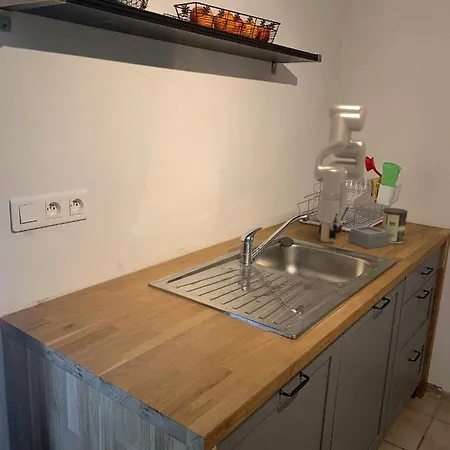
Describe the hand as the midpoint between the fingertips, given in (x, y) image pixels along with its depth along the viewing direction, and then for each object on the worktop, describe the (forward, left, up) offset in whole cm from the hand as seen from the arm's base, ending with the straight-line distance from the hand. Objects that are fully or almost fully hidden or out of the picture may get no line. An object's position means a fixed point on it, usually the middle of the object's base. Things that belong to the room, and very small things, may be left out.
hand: (327, 235), depth 222 cm
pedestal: (+11, +14, -2) cm, 18 cm away
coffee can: (+12, +28, -2) cm, 31 cm away
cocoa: (-11, +15, -2) cm, 19 cm away
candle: (0, 0, -2) cm, 2 cm away
